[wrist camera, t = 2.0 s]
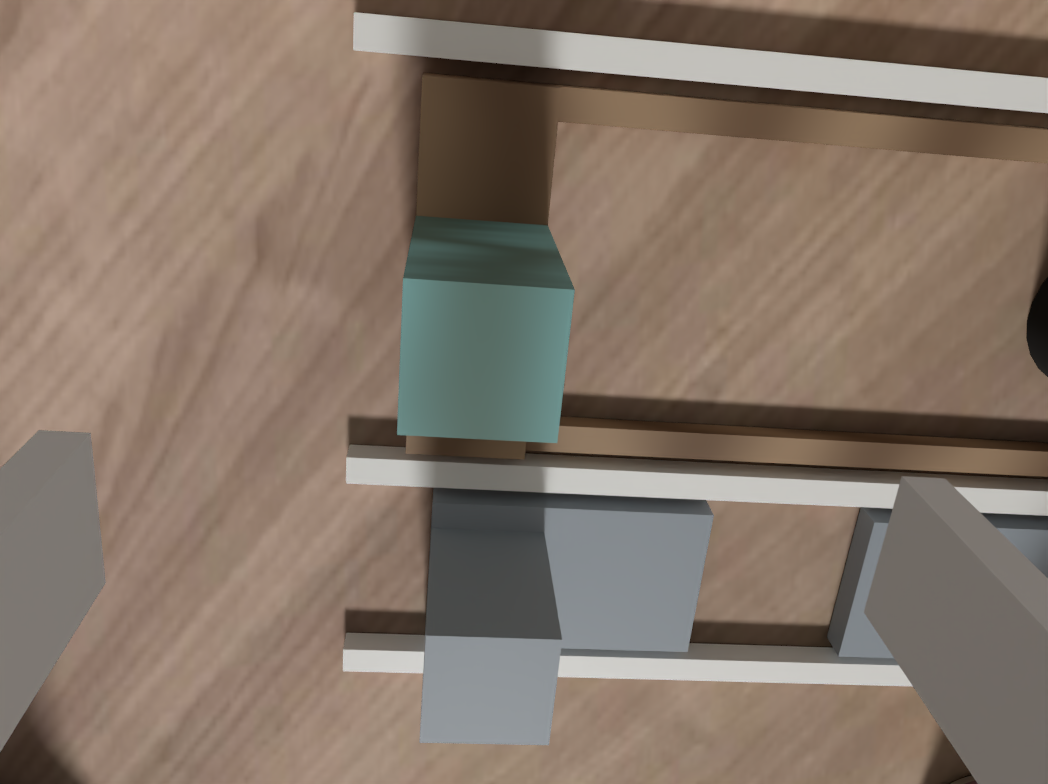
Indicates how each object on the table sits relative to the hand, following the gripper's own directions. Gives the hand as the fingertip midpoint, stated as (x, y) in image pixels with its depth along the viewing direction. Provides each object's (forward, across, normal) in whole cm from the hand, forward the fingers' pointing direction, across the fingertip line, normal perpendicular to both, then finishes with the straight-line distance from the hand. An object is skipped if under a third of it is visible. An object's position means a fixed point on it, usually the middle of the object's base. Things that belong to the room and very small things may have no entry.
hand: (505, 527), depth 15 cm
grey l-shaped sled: (+16, +4, -11) cm, 20 cm away
